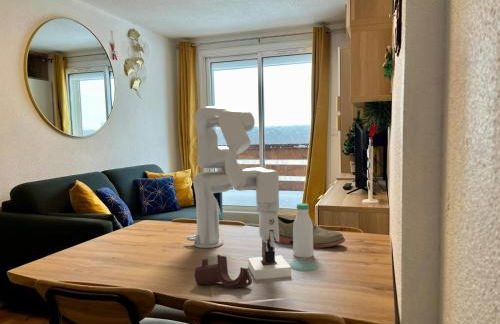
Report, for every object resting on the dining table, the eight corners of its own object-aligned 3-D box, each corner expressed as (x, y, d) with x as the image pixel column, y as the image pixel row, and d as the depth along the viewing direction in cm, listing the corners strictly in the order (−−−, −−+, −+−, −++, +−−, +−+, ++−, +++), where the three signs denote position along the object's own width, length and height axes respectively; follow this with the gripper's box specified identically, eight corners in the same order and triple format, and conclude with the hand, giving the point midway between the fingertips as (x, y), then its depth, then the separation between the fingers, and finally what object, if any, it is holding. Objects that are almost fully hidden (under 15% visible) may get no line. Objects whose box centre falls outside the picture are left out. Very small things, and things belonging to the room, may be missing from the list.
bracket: (248, 285, 103) (244, 250, 106) (195, 292, 106) (193, 259, 110) (254, 284, 108) (250, 251, 112) (203, 292, 112) (201, 260, 116)
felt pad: (294, 273, 118) (294, 272, 118) (285, 263, 128) (285, 261, 128) (322, 271, 120) (322, 269, 120) (312, 261, 129) (312, 259, 129)
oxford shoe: (343, 251, 140) (342, 222, 140) (268, 244, 152) (267, 217, 152) (346, 243, 151) (346, 216, 150) (276, 237, 163) (275, 212, 162)
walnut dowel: (264, 273, 117) (263, 240, 116) (261, 268, 121) (261, 237, 120) (275, 272, 118) (275, 239, 117) (272, 267, 122) (272, 236, 121)
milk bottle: (313, 259, 132) (312, 206, 130) (292, 258, 133) (291, 206, 132) (313, 252, 139) (313, 202, 138) (294, 251, 141) (293, 202, 139)
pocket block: (255, 281, 112) (254, 270, 112) (248, 267, 124) (248, 258, 124) (291, 277, 114) (291, 267, 114) (281, 264, 126) (281, 255, 126)
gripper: (285, 211, 110) (285, 268, 112) (272, 201, 127) (273, 251, 128) (262, 212, 109) (262, 270, 110) (252, 202, 125) (252, 253, 127)
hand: (268, 259), depth 119 cm, fingers closed on walnut dowel, 4 cm apart
